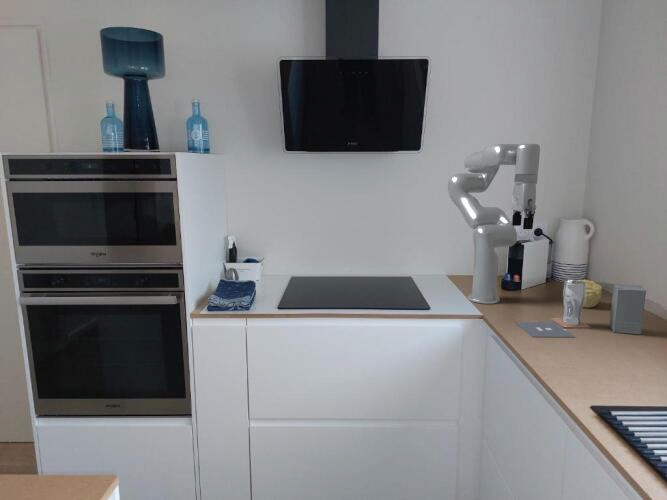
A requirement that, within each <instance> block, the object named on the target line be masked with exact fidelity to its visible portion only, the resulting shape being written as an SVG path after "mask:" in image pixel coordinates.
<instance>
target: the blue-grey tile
mask: <svg viewBox="0 0 667 500" xmlns="http://www.w3.org/2000/svg"><path fill="white" fill-rule="evenodd" d="M515 324H516V325H517V326H518V327H520V328H521V329H522V330H523V331H524V332H525V333H527V334H528V335H529V336H530V337H532V338H576V336H575V335H573V334H572V333H571V332H569V331H568V330H566V328H562V327H561V326H560V325H558V324H557V323H555V322H554V321H515Z"/></svg>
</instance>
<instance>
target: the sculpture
mask: <svg viewBox="0 0 667 500" xmlns="http://www.w3.org/2000/svg"><path fill="white" fill-rule="evenodd" d="M579 280H580V281H584V282H586V296H585V301H584V304H583V307H582V308H585V309H587V308H588V309H589V308H590V309H591V308H594V307H596V306H597V305H598V304H599V302H600V301H601V297H602V289H603V286H602V285H600V284H599V283H597V282H595V281H594V280H589V279H579Z"/></svg>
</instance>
